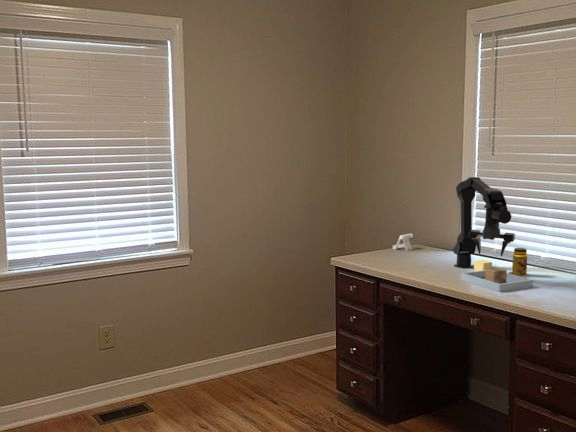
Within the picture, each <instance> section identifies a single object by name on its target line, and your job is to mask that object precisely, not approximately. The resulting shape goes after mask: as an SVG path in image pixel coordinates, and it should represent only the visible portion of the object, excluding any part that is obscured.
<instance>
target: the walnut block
mask: <svg viewBox="0 0 576 432" xmlns="http://www.w3.org/2000/svg"><path fill="white" fill-rule="evenodd" d="M507 273H508V270H507V269H504V268H500V267H496V268H495V267H493V268H492V269H486V272H485V277H484V279H485V280H488V281H492V282H495V283H498V284H502V283H507V280H506V278H507Z"/></svg>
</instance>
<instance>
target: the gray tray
mask: <svg viewBox="0 0 576 432" xmlns="http://www.w3.org/2000/svg"><path fill="white" fill-rule="evenodd" d="M485 272H486V270H482V271H474V270H473V271H468V272H461V273H460V281H462V282H466V283H469V284H472V285H476V286H478V287H483V288H485V289H489V290H490V291H491V290H492V291H495V292H499V293H501V292H507V291H509V292H510V291H514V290H516V291H517V290H522V289H528V288H533V286H534V285H533V283H534V279H531V278H527V277H520V276H517V275H513V274H509V273H508V272H507V278H506V283H502V284H498V283H495V282H492V281H488V280H485Z"/></svg>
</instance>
